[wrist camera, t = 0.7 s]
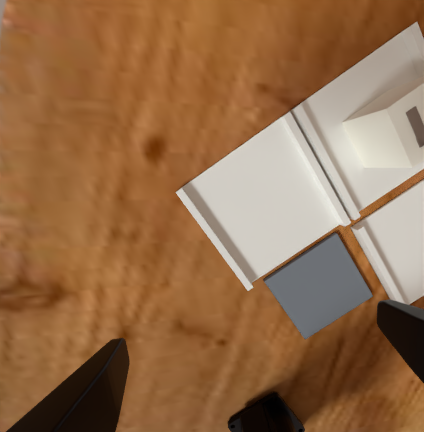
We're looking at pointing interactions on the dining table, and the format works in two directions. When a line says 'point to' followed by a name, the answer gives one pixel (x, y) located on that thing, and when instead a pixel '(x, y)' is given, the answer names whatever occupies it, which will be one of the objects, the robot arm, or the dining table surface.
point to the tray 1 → (264, 201)
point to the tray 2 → (350, 104)
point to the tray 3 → (397, 244)
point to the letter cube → (390, 128)
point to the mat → (319, 286)
